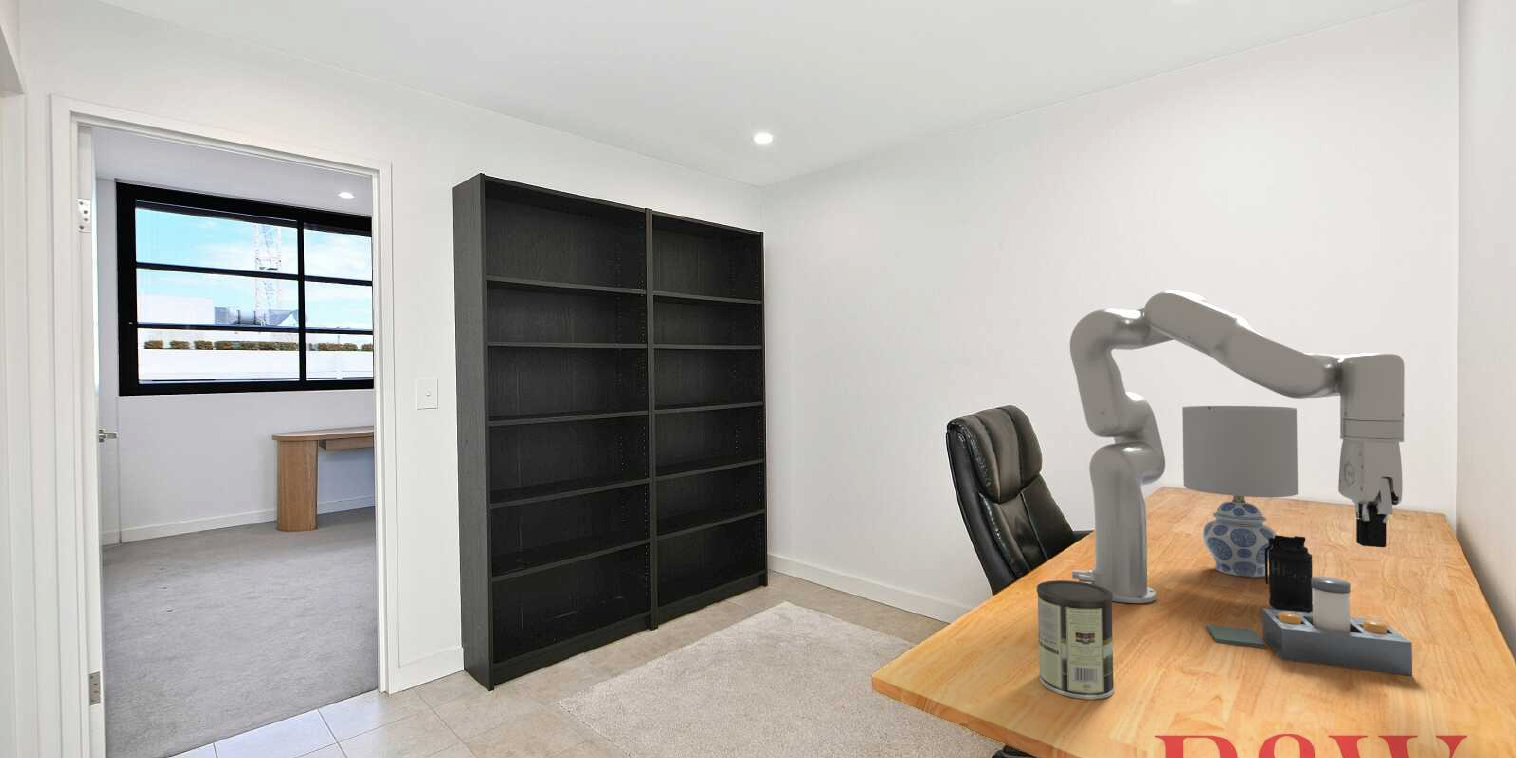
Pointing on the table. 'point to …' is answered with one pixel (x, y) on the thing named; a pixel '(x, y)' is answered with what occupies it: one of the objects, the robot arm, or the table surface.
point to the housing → (1337, 644)
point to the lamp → (1240, 476)
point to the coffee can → (1075, 639)
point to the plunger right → (1374, 626)
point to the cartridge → (1331, 604)
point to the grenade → (1289, 574)
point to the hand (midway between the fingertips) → (1371, 545)
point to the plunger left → (1289, 617)
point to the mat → (1235, 636)
